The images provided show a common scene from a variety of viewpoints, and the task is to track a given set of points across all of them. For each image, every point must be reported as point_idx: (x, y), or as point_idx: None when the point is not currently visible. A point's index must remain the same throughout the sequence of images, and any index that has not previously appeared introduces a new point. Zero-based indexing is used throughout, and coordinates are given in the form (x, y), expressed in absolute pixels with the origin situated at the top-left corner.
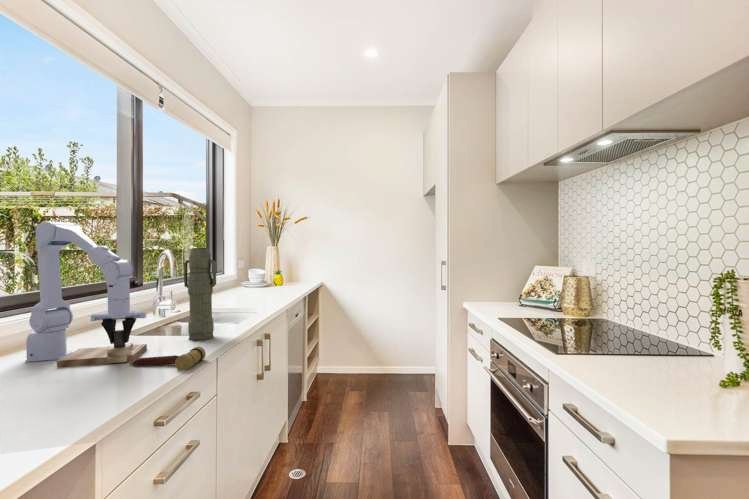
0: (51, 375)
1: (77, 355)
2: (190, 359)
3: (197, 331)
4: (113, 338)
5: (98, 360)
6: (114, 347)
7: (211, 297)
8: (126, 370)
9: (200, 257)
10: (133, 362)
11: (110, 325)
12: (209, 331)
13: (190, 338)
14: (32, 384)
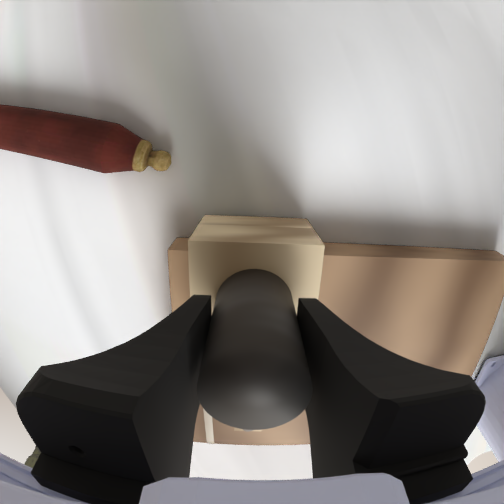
0: (488, 127)
1: (457, 333)
2: None
3: None
4: (303, 337)
5: (361, 249)
6: (283, 282)
7: None
8: (160, 61)
9: None
10: (138, 139)
11: (356, 397)
12: (27, 459)
13: None
14: (494, 33)
